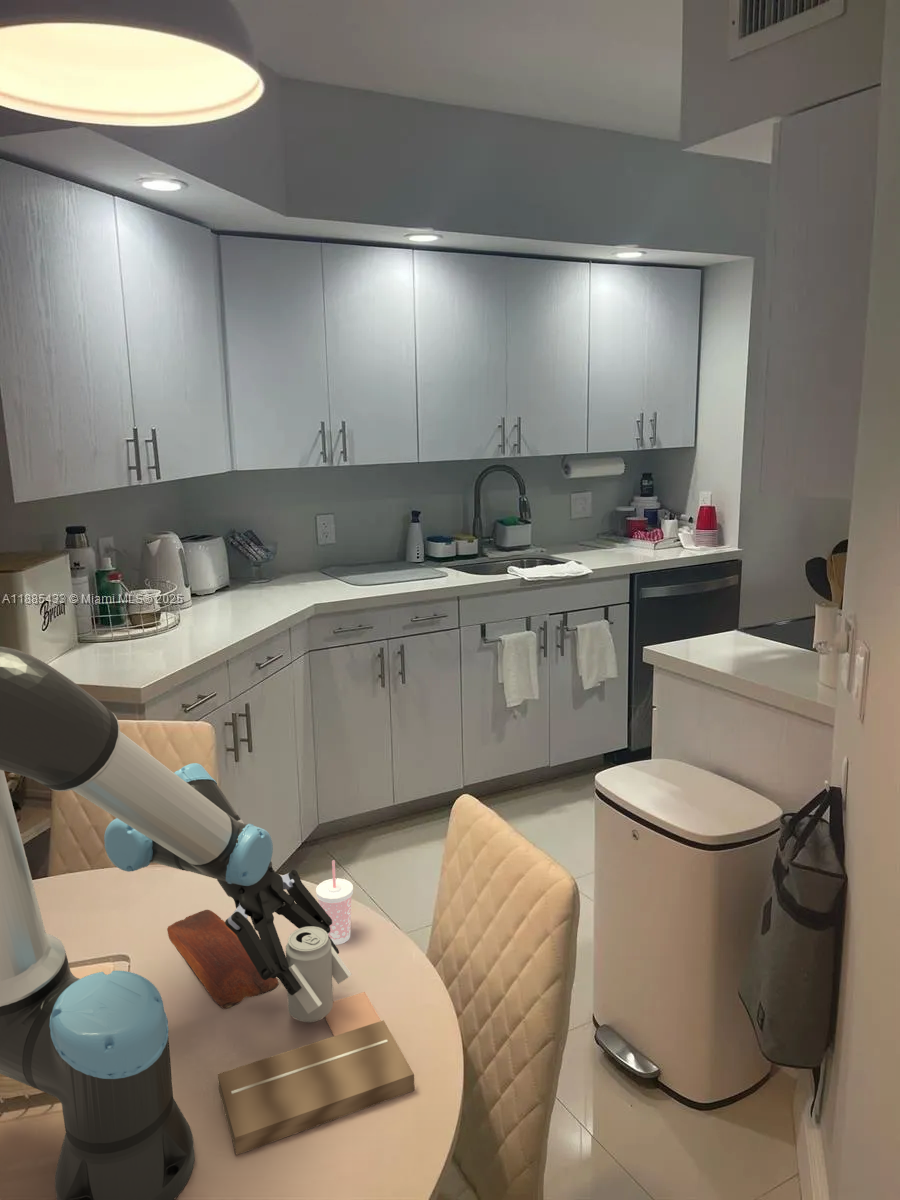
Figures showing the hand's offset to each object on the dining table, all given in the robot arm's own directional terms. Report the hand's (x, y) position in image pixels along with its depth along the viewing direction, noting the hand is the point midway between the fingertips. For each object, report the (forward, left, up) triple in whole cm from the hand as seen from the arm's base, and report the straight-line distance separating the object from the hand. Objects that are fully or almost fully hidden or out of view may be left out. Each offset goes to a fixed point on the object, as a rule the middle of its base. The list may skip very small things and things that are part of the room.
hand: (330, 993), depth 123 cm
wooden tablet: (-11, +24, -7) cm, 28 cm away
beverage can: (-2, +3, -4) cm, 6 cm away
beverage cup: (+7, +20, -6) cm, 23 cm away
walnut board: (-5, -10, -6) cm, 13 cm away
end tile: (+3, +1, -6) cm, 7 cm away
